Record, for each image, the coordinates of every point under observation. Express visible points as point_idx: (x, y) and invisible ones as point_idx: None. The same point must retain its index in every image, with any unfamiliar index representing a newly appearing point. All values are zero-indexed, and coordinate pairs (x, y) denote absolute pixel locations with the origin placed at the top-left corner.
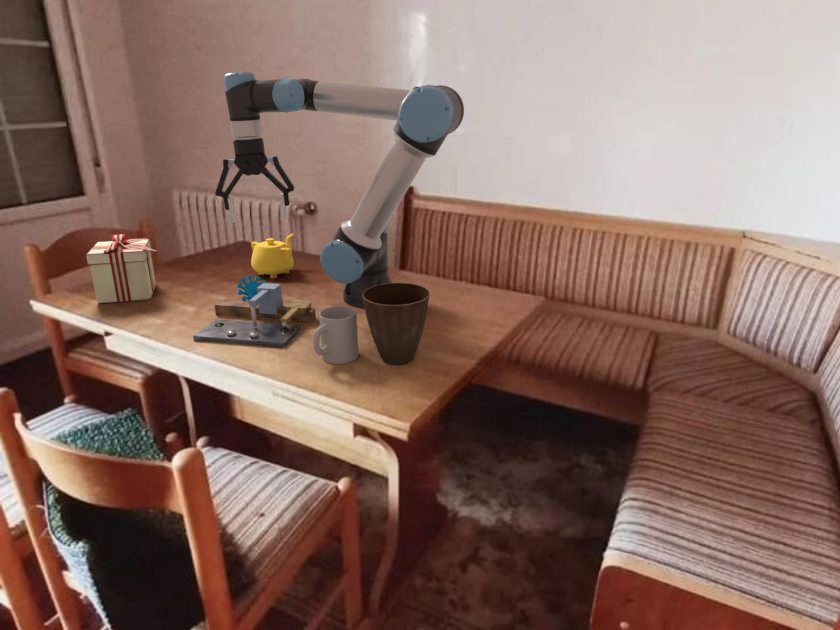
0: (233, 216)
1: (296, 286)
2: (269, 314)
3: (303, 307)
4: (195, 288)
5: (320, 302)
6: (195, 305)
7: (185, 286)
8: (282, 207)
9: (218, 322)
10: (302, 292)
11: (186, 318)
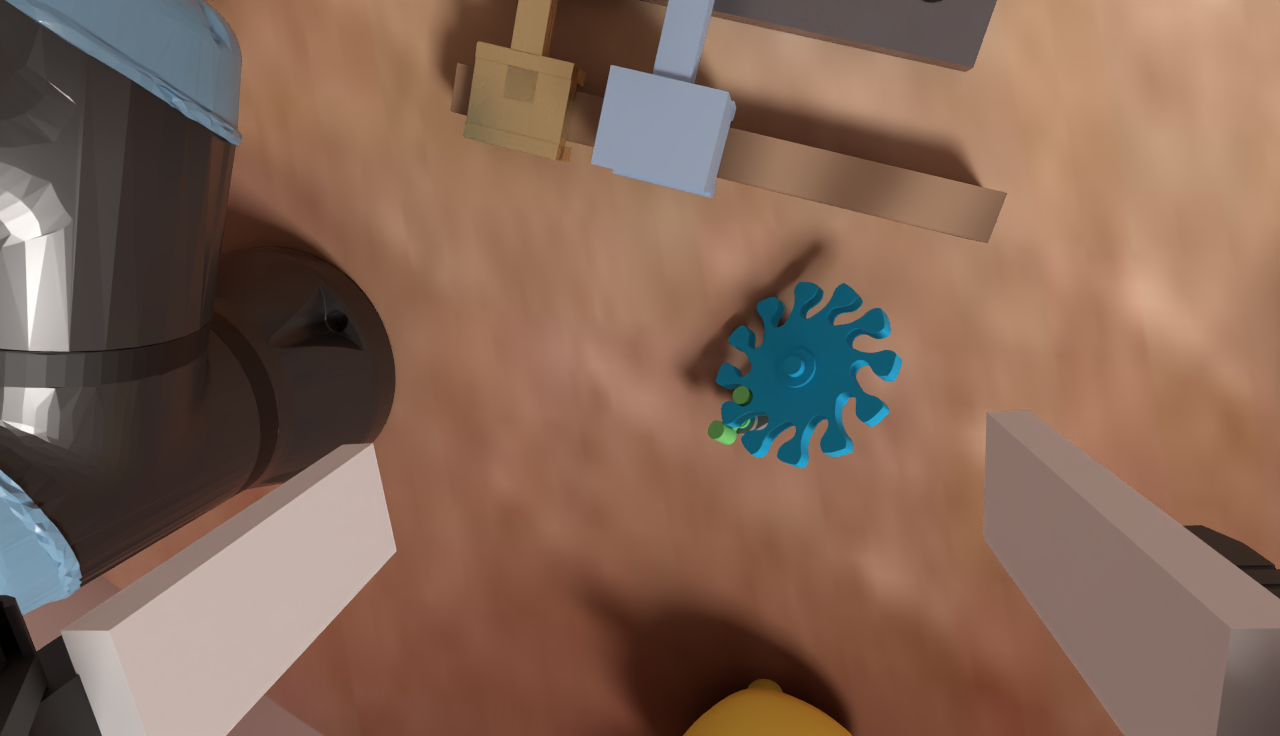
0: (1023, 446)
1: (634, 553)
2: None
3: (484, 52)
4: None
5: (489, 330)
6: (1128, 346)
7: None
8: (275, 509)
9: (947, 11)
10: (593, 470)
11: (1151, 152)
